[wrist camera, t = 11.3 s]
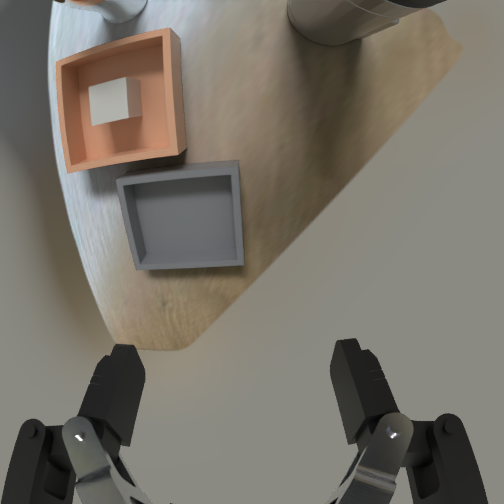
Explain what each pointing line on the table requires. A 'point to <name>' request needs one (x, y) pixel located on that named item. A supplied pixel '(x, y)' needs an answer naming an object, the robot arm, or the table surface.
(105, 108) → the off-white cube block
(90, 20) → the table surface
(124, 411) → the robot arm
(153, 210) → the charcoal bin
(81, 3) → the silver metal tumbler
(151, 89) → the terracotta tray
